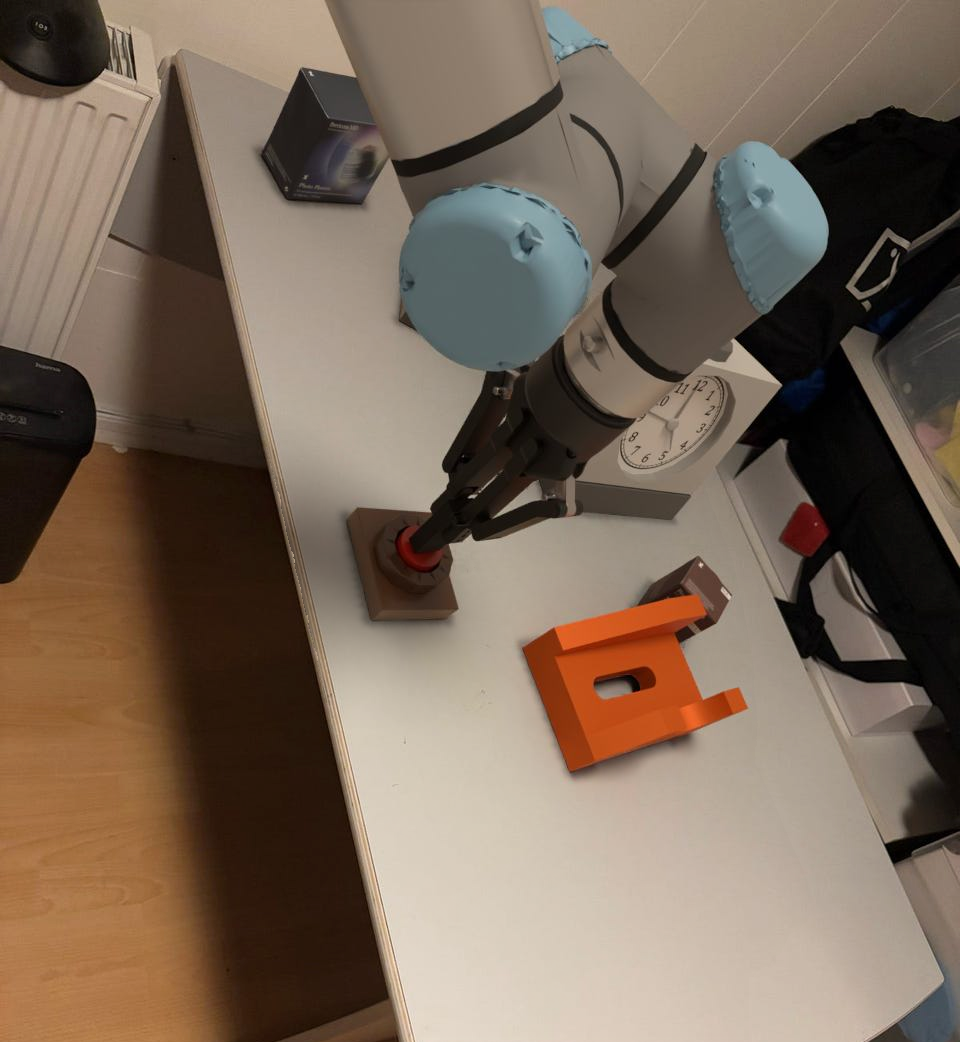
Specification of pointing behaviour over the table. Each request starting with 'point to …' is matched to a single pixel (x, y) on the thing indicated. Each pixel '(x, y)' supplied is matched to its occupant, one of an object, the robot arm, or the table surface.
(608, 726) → the orange phone stand
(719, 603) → the box
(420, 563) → the power button
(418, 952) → the table surface
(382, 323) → the table surface
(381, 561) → the button block
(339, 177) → the small box
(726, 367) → the alarm clock
